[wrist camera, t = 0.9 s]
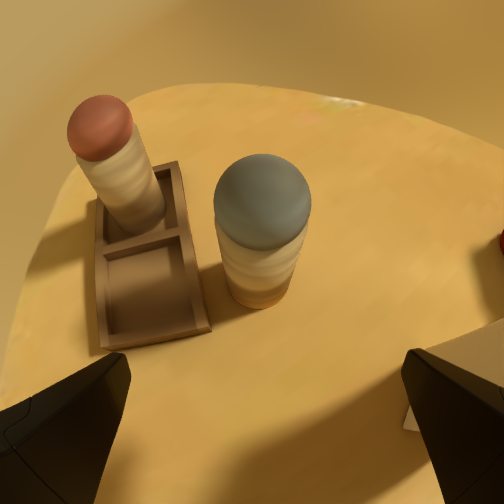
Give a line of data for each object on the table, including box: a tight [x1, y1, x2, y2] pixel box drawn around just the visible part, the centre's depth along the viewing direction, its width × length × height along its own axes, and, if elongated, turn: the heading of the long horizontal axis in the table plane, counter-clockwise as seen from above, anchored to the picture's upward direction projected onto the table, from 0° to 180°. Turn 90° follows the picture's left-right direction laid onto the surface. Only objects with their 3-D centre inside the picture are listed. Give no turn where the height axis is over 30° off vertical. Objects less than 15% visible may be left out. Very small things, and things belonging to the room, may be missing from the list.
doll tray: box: [95, 161, 212, 351], centre depth 23 cm, size 16×9×2 cm, turn 15°
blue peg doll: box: [213, 154, 311, 309], centre depth 18 cm, size 5×5×13 cm
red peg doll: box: [67, 95, 166, 235], centre depth 20 cm, size 5×5×13 cm
